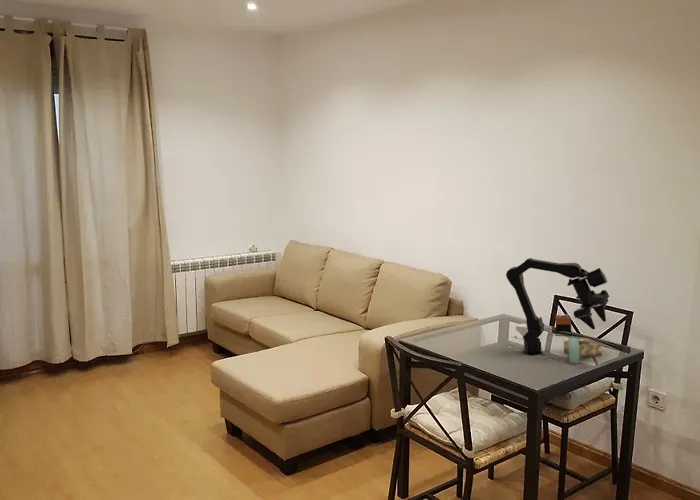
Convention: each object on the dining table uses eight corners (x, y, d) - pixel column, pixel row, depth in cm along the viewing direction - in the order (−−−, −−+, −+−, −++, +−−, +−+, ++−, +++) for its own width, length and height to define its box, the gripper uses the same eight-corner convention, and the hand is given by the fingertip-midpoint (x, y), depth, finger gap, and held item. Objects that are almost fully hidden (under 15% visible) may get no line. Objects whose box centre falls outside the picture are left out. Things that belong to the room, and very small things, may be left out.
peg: (572, 363, 252) (571, 340, 251) (567, 361, 256) (566, 338, 255) (581, 362, 253) (580, 339, 252) (575, 360, 257) (574, 336, 256)
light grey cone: (533, 336, 299) (533, 324, 298) (527, 339, 295) (526, 327, 294) (522, 335, 303) (522, 323, 303) (516, 337, 299) (515, 325, 299)
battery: (571, 335, 295) (570, 315, 294) (556, 335, 297) (555, 315, 296) (570, 333, 299) (569, 313, 298) (556, 333, 301) (555, 313, 300)
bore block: (578, 358, 259) (578, 347, 258) (564, 352, 269) (563, 341, 269) (601, 355, 261) (601, 343, 260) (586, 349, 272) (585, 338, 271)
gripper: (588, 293, 247) (605, 329, 246) (610, 279, 258) (626, 313, 257) (566, 300, 256) (582, 334, 254) (588, 286, 267) (604, 319, 266)
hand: (599, 325), depth 258 cm, fingers open, 9 cm apart
